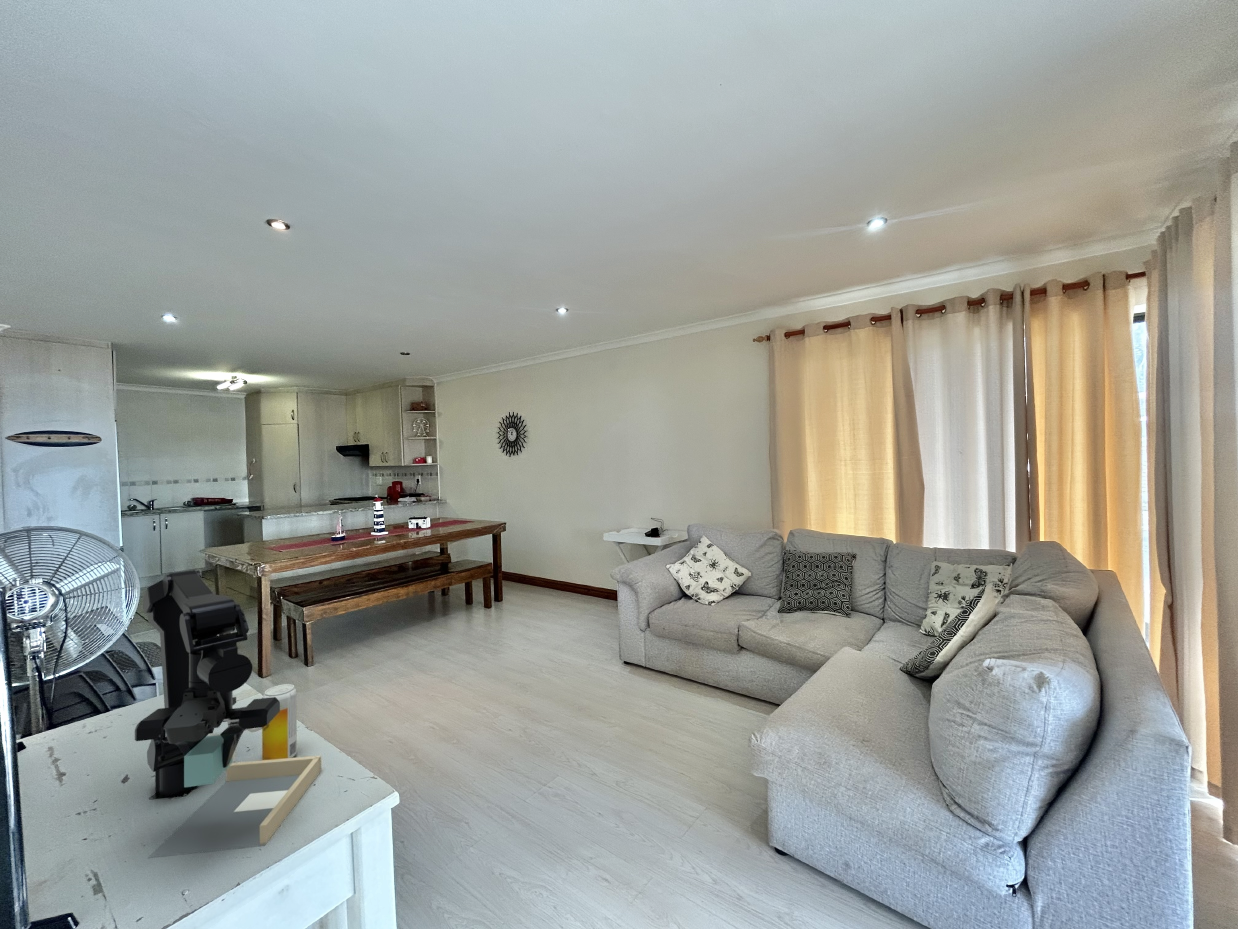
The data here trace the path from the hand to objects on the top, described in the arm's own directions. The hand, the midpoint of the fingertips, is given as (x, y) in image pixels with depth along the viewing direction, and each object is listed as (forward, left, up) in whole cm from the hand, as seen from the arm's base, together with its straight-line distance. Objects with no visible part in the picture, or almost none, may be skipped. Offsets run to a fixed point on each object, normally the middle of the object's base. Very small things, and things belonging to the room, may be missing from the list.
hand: (211, 768), depth 84 cm
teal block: (0, 0, -1) cm, 1 cm away
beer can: (0, +22, -12) cm, 25 cm away
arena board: (+2, +6, -11) cm, 13 cm away
